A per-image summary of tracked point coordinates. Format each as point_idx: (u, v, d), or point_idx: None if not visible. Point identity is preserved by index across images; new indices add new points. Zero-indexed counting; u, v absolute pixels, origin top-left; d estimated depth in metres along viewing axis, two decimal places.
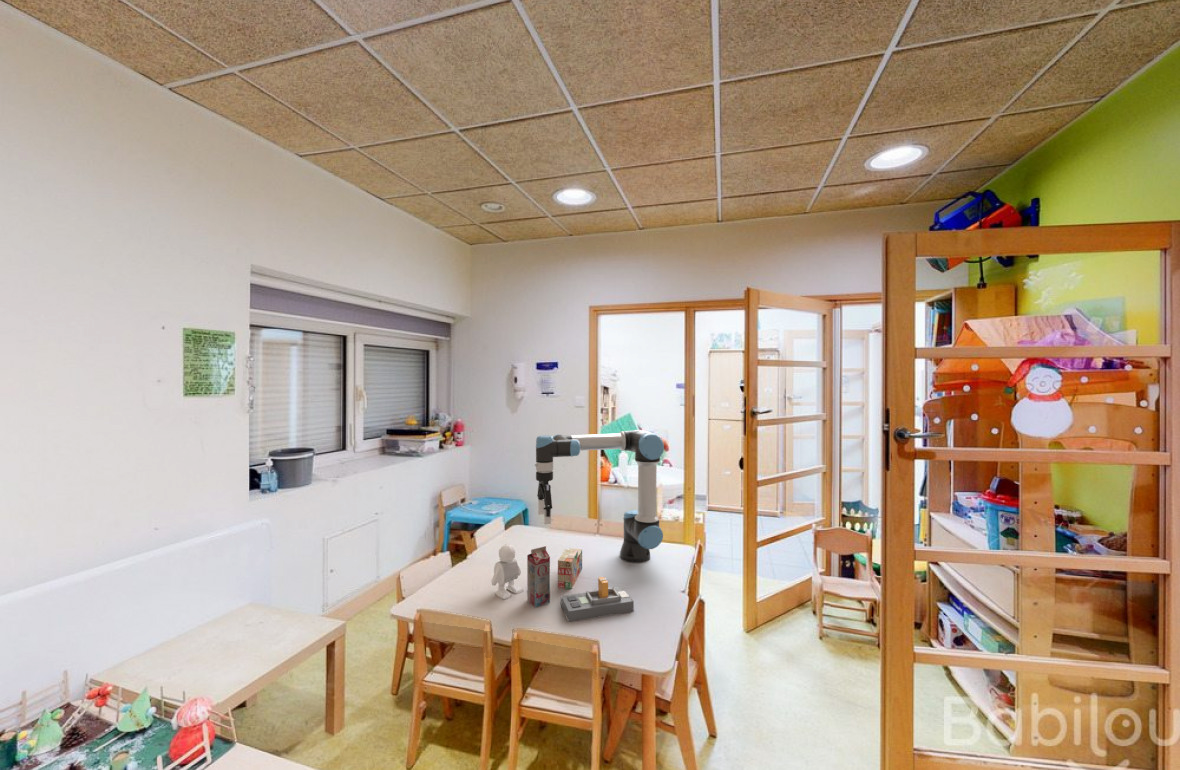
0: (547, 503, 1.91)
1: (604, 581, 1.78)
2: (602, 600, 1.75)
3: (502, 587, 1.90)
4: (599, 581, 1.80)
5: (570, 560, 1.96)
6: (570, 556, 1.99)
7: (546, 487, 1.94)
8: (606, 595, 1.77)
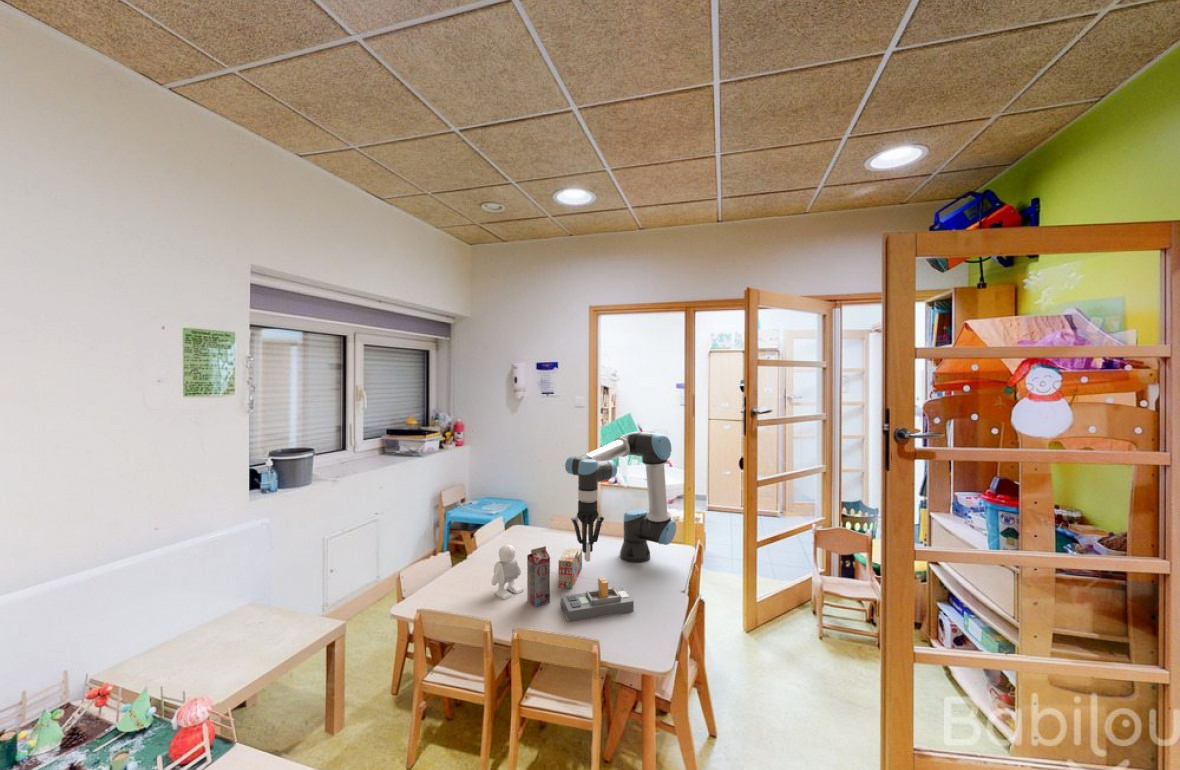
0: (577, 537, 1.76)
1: (604, 581, 1.78)
2: (602, 600, 1.75)
3: (502, 587, 1.90)
4: (599, 581, 1.80)
5: (571, 560, 1.96)
6: (570, 556, 1.99)
7: (572, 521, 1.75)
8: (606, 595, 1.77)
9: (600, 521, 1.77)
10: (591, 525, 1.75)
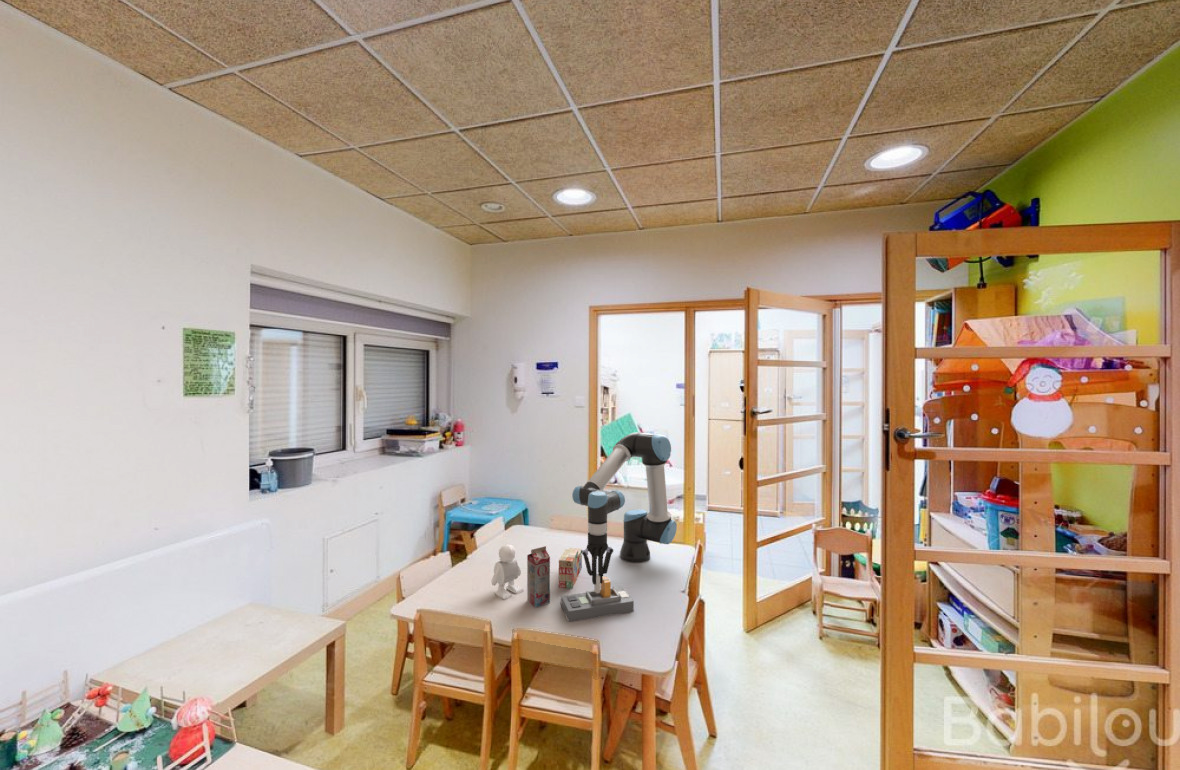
0: (587, 569, 1.78)
1: (606, 581, 1.78)
2: (602, 600, 1.75)
3: (502, 587, 1.90)
4: None
5: (571, 560, 1.96)
6: (570, 556, 2.00)
7: (582, 553, 1.77)
8: (608, 595, 1.77)
9: (610, 553, 1.79)
10: (601, 557, 1.77)
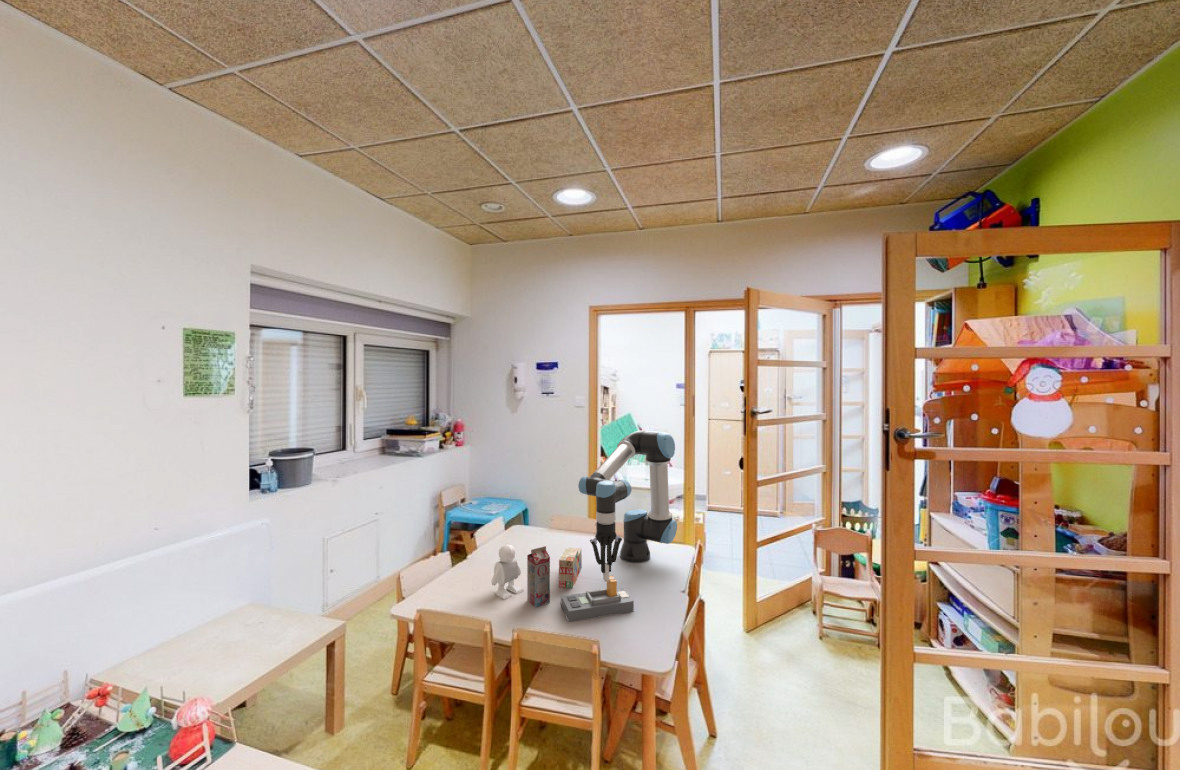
0: (595, 557, 1.79)
1: (613, 580, 1.79)
2: (602, 600, 1.75)
3: (502, 587, 1.90)
4: None
5: (571, 559, 1.96)
6: (570, 556, 2.00)
7: None
8: (615, 594, 1.78)
9: (618, 542, 1.80)
10: (609, 546, 1.78)
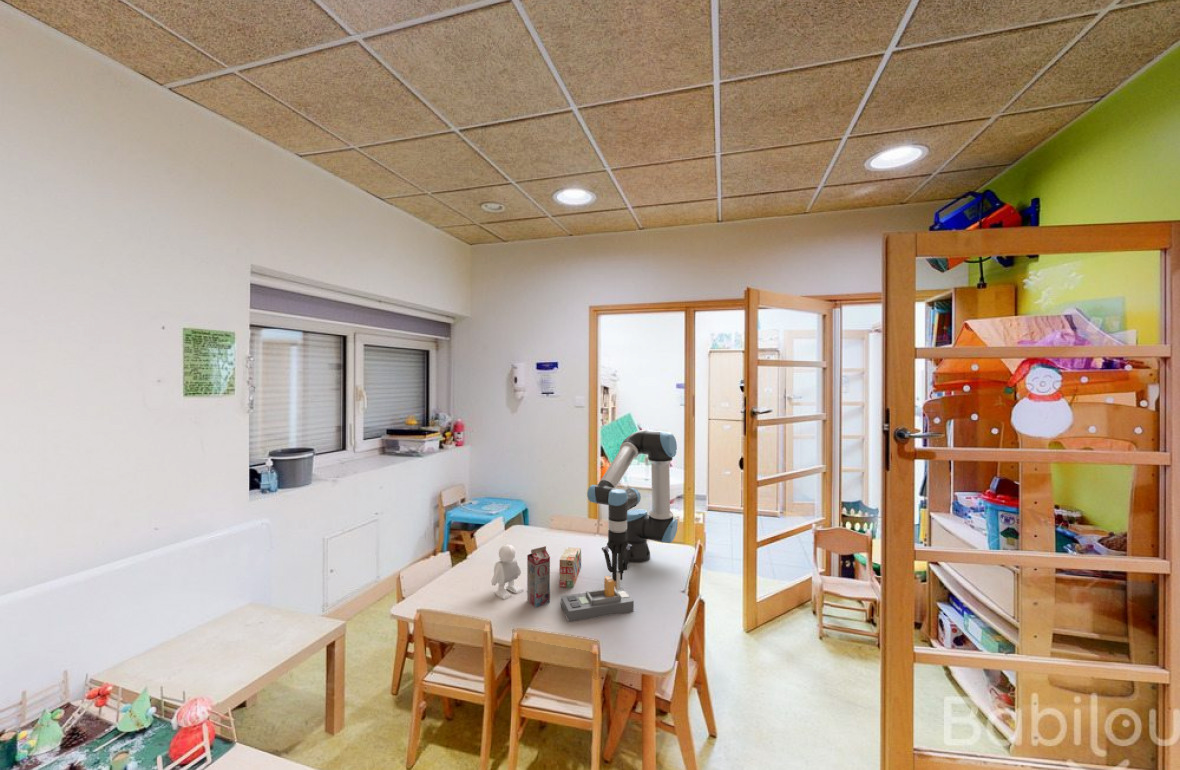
0: (607, 565, 1.80)
1: (610, 580, 1.79)
2: (602, 600, 1.75)
3: (502, 587, 1.90)
4: (605, 580, 1.81)
5: (572, 559, 1.97)
6: (571, 555, 2.00)
7: (602, 550, 1.79)
8: (612, 594, 1.78)
9: (630, 550, 1.81)
10: (621, 554, 1.79)
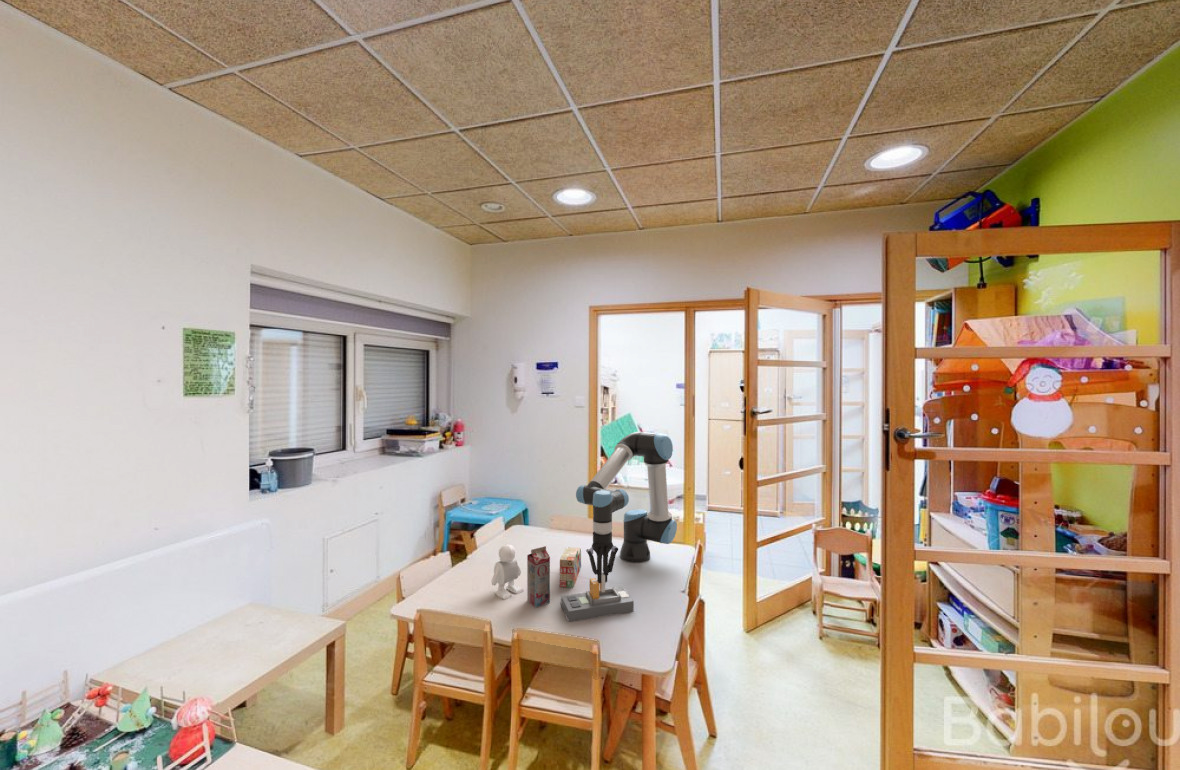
0: (592, 567, 1.78)
1: (595, 582, 1.77)
2: (602, 600, 1.75)
3: (502, 587, 1.90)
4: (590, 582, 1.79)
5: (572, 559, 1.97)
6: (571, 555, 2.00)
7: (587, 552, 1.77)
8: (597, 596, 1.76)
9: (615, 552, 1.79)
10: (606, 556, 1.77)
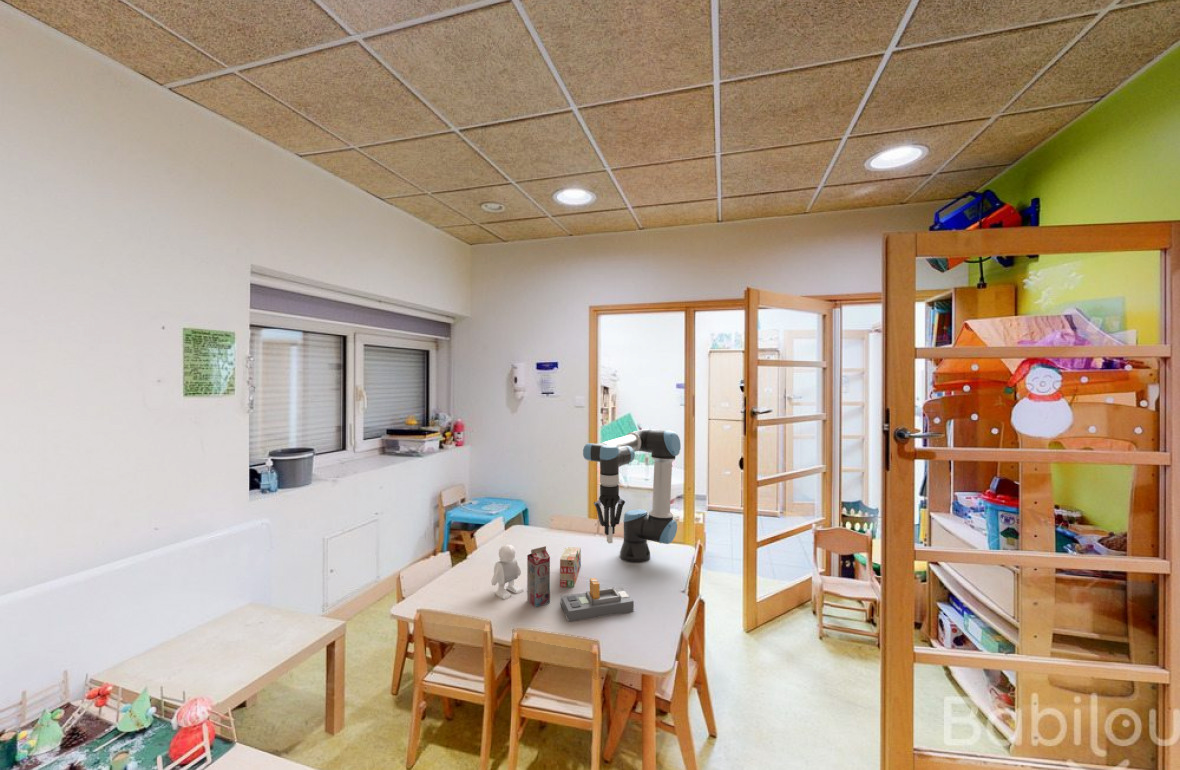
0: (599, 520, 1.82)
1: (595, 582, 1.77)
2: (602, 600, 1.75)
3: (502, 587, 1.90)
4: (590, 582, 1.79)
5: (572, 559, 1.97)
6: (571, 555, 2.00)
7: None
8: (597, 596, 1.76)
9: (621, 504, 1.83)
10: (613, 508, 1.81)
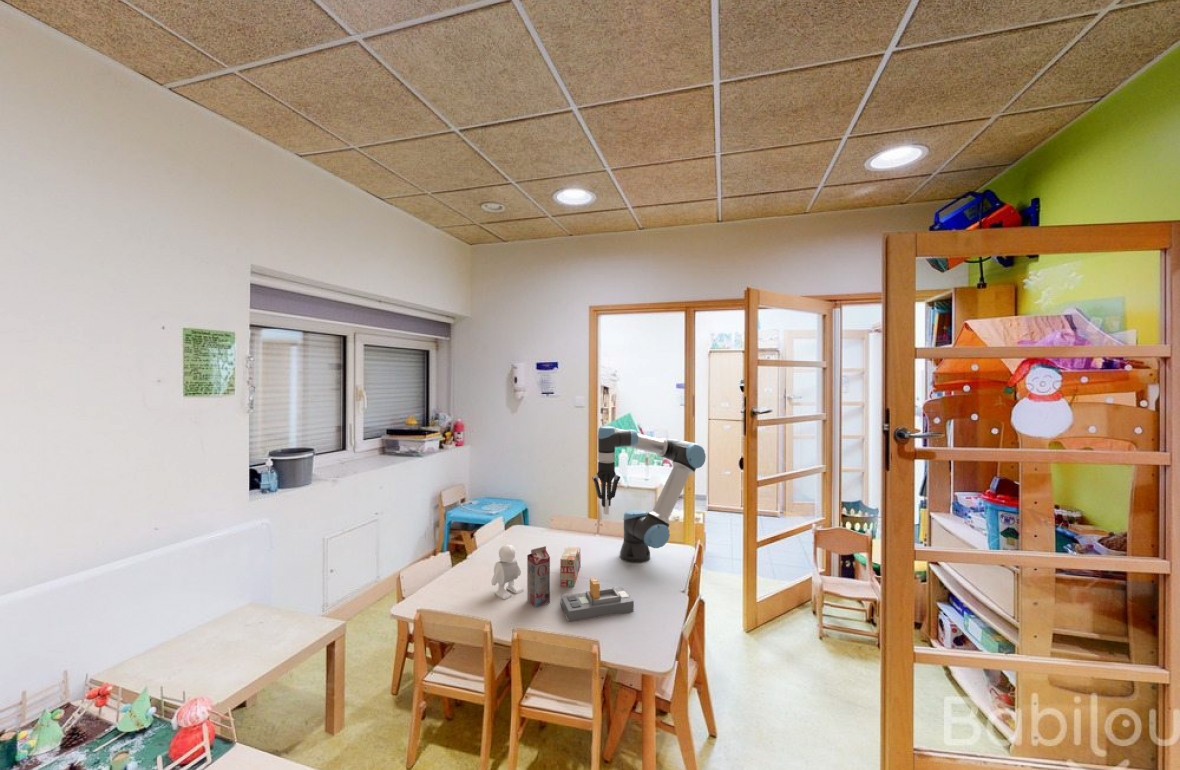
0: (597, 493, 2.04)
1: (595, 582, 1.77)
2: (602, 600, 1.75)
3: (502, 587, 1.90)
4: (590, 582, 1.79)
5: (572, 558, 1.97)
6: (571, 555, 2.01)
7: (593, 479, 2.03)
8: (597, 596, 1.76)
9: (617, 480, 2.04)
10: (609, 483, 2.03)
